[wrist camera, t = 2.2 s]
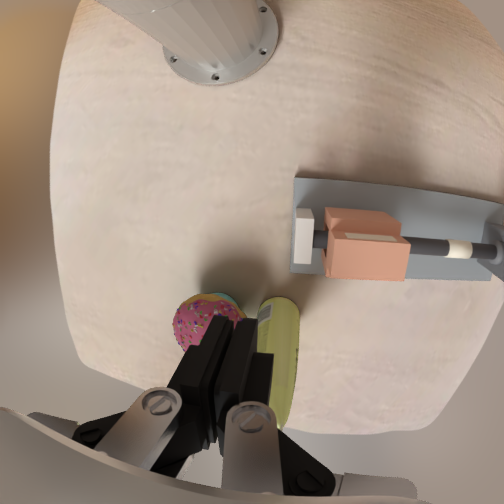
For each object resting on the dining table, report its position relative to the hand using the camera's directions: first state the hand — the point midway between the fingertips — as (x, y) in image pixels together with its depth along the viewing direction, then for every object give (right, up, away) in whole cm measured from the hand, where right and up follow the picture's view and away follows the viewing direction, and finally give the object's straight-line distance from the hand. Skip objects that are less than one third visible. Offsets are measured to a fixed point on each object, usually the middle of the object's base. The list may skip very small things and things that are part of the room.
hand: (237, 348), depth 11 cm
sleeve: (+10, +5, +16) cm, 20 cm away
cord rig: (+18, +6, +18) cm, 26 cm away
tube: (+4, -4, +23) cm, 24 cm away
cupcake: (-3, -3, +24) cm, 24 cm away
